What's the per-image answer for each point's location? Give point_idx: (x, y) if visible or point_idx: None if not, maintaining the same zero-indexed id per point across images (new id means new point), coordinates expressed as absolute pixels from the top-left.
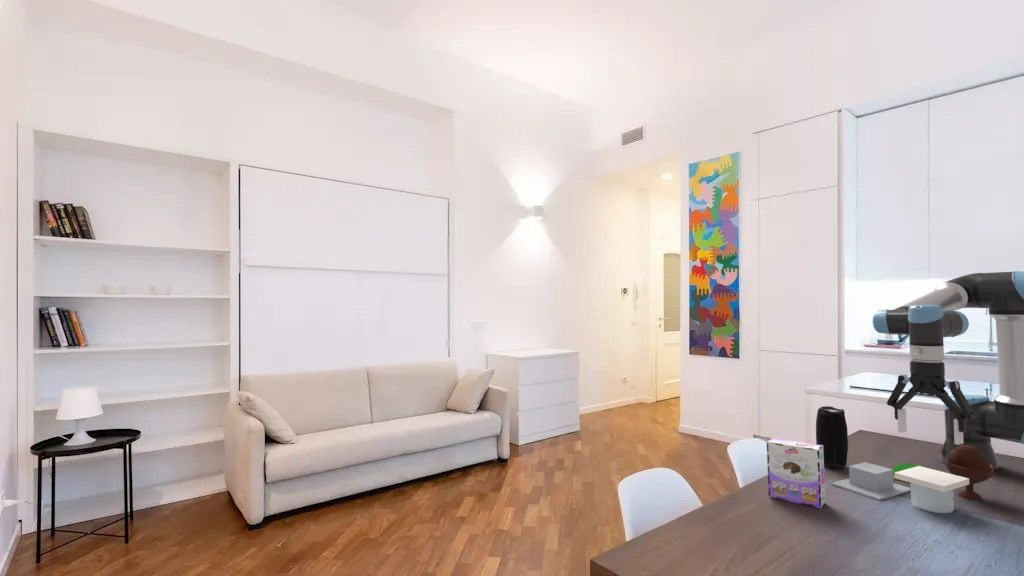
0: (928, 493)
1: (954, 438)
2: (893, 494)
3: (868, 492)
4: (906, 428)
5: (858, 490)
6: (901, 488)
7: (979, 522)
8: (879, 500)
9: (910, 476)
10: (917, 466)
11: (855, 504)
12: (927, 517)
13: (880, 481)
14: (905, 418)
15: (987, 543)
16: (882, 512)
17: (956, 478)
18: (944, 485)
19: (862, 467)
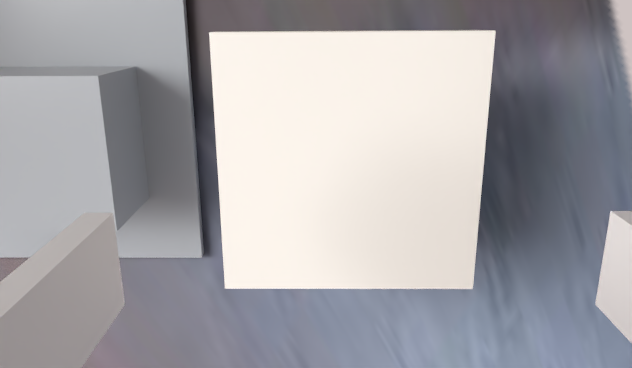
0: None
1: (625, 336)
2: (194, 156)
3: (134, 230)
4: (100, 228)
5: None
6: (158, 41)
7: (524, 141)
8: (203, 253)
9: (304, 281)
10: (212, 55)
11: (191, 364)
12: None
13: (129, 184)
14: (42, 299)
15: (604, 314)
16: (285, 353)
17: (452, 96)
18: (468, 276)
19: (9, 191)
